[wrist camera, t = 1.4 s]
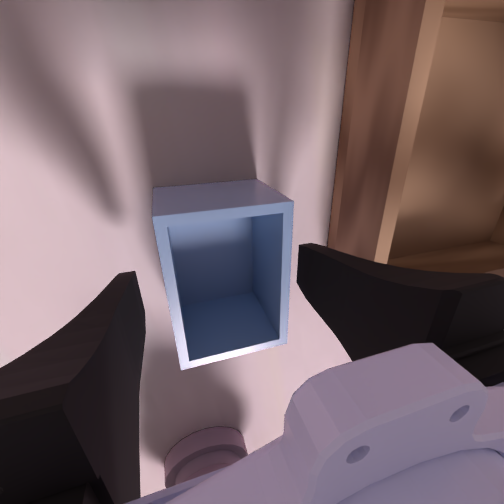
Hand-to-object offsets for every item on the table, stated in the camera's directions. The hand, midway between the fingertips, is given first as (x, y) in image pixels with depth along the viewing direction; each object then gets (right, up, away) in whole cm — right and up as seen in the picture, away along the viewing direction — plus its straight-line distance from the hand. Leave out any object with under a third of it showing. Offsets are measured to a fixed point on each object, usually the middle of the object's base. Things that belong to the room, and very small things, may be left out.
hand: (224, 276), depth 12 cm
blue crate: (-1, +1, +3) cm, 3 cm away
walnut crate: (+12, +7, +5) cm, 15 cm away
